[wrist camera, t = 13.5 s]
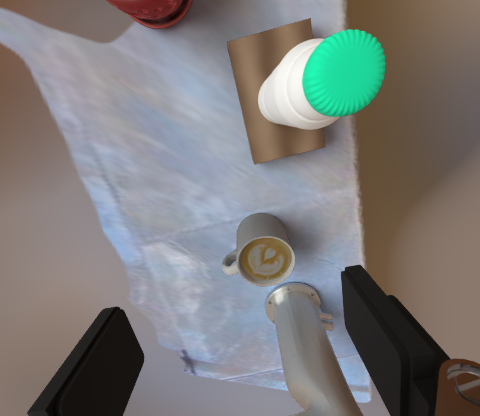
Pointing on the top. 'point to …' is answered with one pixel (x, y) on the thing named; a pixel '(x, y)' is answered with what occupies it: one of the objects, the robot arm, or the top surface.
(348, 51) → the water bottle
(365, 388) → the top surface
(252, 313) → the top surface
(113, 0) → the plant pot
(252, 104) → the walnut stand
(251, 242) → the coffee mug
